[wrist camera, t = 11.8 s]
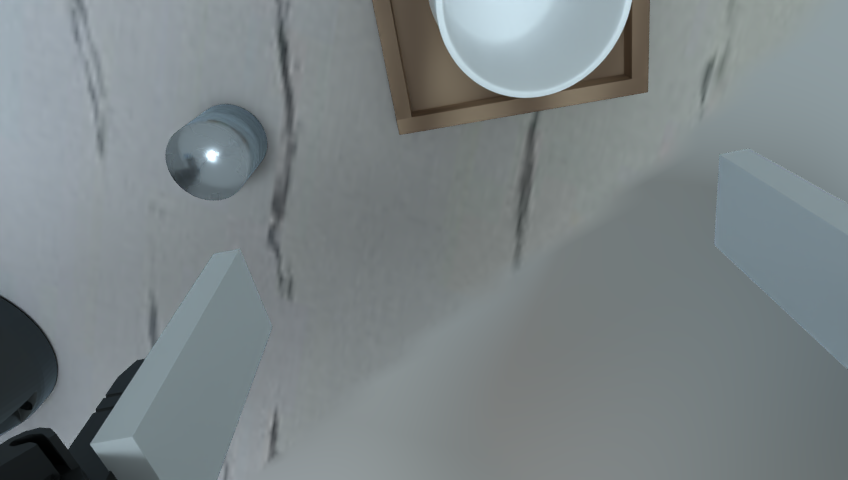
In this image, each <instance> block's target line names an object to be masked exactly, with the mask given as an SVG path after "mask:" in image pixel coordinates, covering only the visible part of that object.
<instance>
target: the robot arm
mask: <svg viewBox="0 0 848 480" xmlns="http://www.w3.org/2000/svg"><path fill="white" fill-rule="evenodd" d="M714 245H715V246H716V247H717V248H718V249H719V250H720V251H721V252H722V253H723V254H724V255H725V256H727V257H728V258H729V259H730V260H731V261H732V262H733V263H734V264H735V265H736V266H737V267H738V268H739V269H740V270H742V271H743V272H744V273H745V274H746V275H747V276H748V277H749V278H750V279H751V280H752V281H753V282H754V283H755V284H757V285H758V286H759V287H760V288H761V289H762V290H763V291H764V292H765V293H766V294H767V295H768V296H769V297H770V298H771V299H773V300H774V301H775V302H776V303H777V304H778V305H779V306H780V307H781V308H782V309H783V310H784V311H785V312H786V313H788V314H789V315H790V316H791V317H792V318H793V319H794V320H795V321H796V322H797V323H798V324H800V325H801V327H803V328H804V329H805V330H806V331H807V332H808V333H809V334H810V335H811V336H812V337H813V338H814V339H816V341H817V342H819V343H820V344H821V345H822V346H823V347H824V348H825V349H826V350H827V351H828V352H829V353H830V354H831V355H833V356H834V357H835V358H836V359H837V360H838V361H839V362H840V363H841V364H842V365H843V366H844V367H846V368H847V370H848V203H846V202H844V201H843V200H841V199H839V198H837V197H835V196H834V195H832V194H830V193H828V192H827V191H825V190H823V189H821V188H819V187H818V186H816V185H814V184H812V183H810V182H808V181H807V180H805V179H803V178H801V177H800V176H798V175H796V174H794V173H792V172H790V171H789V170H787V169H785V168H783V167H782V166H780V165H778V164H776V163H774V162H773V161H771V160H769V159H767V158H765V157H764V156H762V155H760V154H758V153H756V152H755V151H753V150H751V149H744V150H739V151H734V152H729V153H724V154H720V156H719V172H718V189H717V206H716V223H715V240H714ZM271 330H272V325H271V322H270V320H269V317H268V315H267V312H266V310H265V308H264V305H263V303H262V300H261V298H260V296H259V293H258V291H257V288H256V286H255V284H254V281H253V279H252V276H251V274H250V272H249V269H248V267H247V264H246V262H245V260H244V257H243V255H242V252H241V250H240V249H236V250H230V251H225V252H220V253H215V254H213V256H212V257H211V259H210V260H209V262H208V263H207V265H206V266H205V268H204V269H203V271H202V273H201V274H200V276H199V277H198V279H197V280H196V282H195V283H194V285H193V286H192V288H191V289H190V291H189V293H188V294H187V296H186V297H185V299H184V300H183V302H182V303H181V305H180V306H179V308H178V309H177V311H176V313H175V314H174V316H173V317H172V319H171V320H170V322H169V323H168V325H167V326H166V328H165V329H164V331H163V333H162V334H161V336H160V337H159V339H158V340H157V342H156V343H155V345H154V346H153V348H152V349H151V351H150V352H149V354H148V356H147V357H146V359H142V360H137V361H136V362H134V363H133V364H132V365H131V366H130V367H129V368H128V369H127V370H125V371H124V372H123V373H122V374H121V375H120V376H119V377H118V378H117V379H116V381H115V382H114V384H113V385H112V387H111V388H110V389H109V391H108V392H107V394H106V398H103V400H102V401H101V403H100V404H99V405H98V407H97V408H96V413H93V414H92V416H91V417H90V419H89V420H88V421H87V423H86V424H85V426H84V427H83V429H82V430H81V432H80V433H79V435H78V436H77V437H76V439H75V440H74V442H73V443H72V445H71V446H70V448H69V449H67V448H66V447H65V445H64V444H63V443H62V441H61V440H60V439H59V437H58V436H57V434H56V433H55V432H54V431H53V430H52V429H51V428H36V429H33V430H29V431H25V432H23V433H21V434H19V435H16V436H14V437H12V438H10V439H8V440H7V441H5V442H4V443H2V444H1V445H0V480H217V479H218V476H219V473H220V470H221V468H222V465H223V462H224V459H225V457H226V454H227V451H228V448H229V446H230V443H231V440H232V437H233V434H234V432H235V429H236V426H237V423H238V421H239V418H240V415H241V412H242V410H243V407H244V404H245V401H246V399H247V396H248V393H249V390H250V388H251V385H252V382H253V379H254V377H255V374H256V371H257V368H258V366H259V363H260V360H261V357H262V355H263V352H264V349H265V346H266V344H267V341H268V338H269V335H270V332H271ZM56 379H57V364H56V359H55V356H54V353H53V350H52V348H51V346H50V344H49V342H48V341H47V339H46V338H45V336H44V335H43V333H42V332H41V331H40V329H39V328H38V327H37V326H36V325H35V324H34V323H33V322H32V321H31V320H30V319H29V318H28V317H27V316H26V315H25V314H24V313H22V312H21V311H20V310H19V309H17V308H16V307H15V306H13V305H12V304H10V303H9V302H7V301H6V300H4V299H2V298H0V436H1V435H3V434H4V433H6V432H8V431H9V430H11V429H12V428H14V427H16V426H17V425H19V424H20V423H22V422H24V421H25V420H26V419H28V418H29V417H30V416H31V415H32V414H33V413H34V412H35V411H36V410H37V409H38V408H39V406H40V405H41V404H42V403H43V402H44V400H45V399H46V398H47V397H48V396H49V395H50V393H51V392H52V390H53V388H54V386H55V383H56Z"/></svg>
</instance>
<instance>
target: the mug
mask: <svg viewBox="0 0 848 480" xmlns="http://www.w3.org/2000/svg"><path fill="white" fill-rule="evenodd" d="M631 3H632V0H429V4H430V8H431V11H432V14H433V16H434V19H435V21H436V23H437V25H438V26H439V30H440V33H441V36H442V39H443V41H444V44H445V46H446V48H447V50H448V52H449V54H450V55H451V57H452V58H453V60H454V61H455V63H456V64H457V65H458V66H459V68H460V69H461V70H462V71H463V72H464V73H465V74H466V75H467V76H468V77H470V78H471V79H472V80H473V81H475V82H476V83H478V84H479V85H481V86H482V87H484V88H486V89H488V90H490V91H493V92H495V93H498V94H501V95H505V96H510V97H518V98H533V97H541V96H546V95H550V94H553V93H556V92H559V91H562V90H564V89H566V88H568V87H570V86H572V85H574V84H576V83H577V82H579V81H580V80H582V79H583V78H585V77H586V76H587V75H588V74H590V73H591V72H592V71H593V70H594V69H595V68H596V67H597V66H598V65H599V64H600V63H601V62H602V61H603V60H604V59H605V58H606V56H607V55H608V54H609V53H610V51H611V50H612V48H613V47H614V45H615V44H616V42H617V40H618V38H619V37H620V35H621V33H622V31H623V28H624V26H625V23H626V21H627V18H628V15H629V11H630V7H631Z"/></svg>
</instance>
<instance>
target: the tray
mask: <svg viewBox="0 0 848 480" xmlns="http://www.w3.org/2000/svg"><path fill="white" fill-rule="evenodd" d="M372 2H373V7H374V12H375V16H376V21H377V26H378V31H379V36H380V41H381V46H382V51H383V56H384V61H385V66H386V71H387V76H388V81H389V86H390V90H391V95H392V100H393V105H394V110H395V115H396V120H397V125H398V130H399V135H403V134H408V133H414V132H420V131H426V130H431V129H437V128H443V127H449V126H455V125H460V124H466V123H472V122H478V121H484V120H489V119H495V118H501V117H507V116H513V115H518V114H524V113H530V112H536V111H542V110H547V109H553V108H559V107H565V106H570V105H576V104H582V103H588V102H594V101H599V100H605V99H611V98H617V97H623V96H628V95H634V94H640V93H646V92H648V64H649V13H650V0H632V3H631V7H630V11H629V15H628V18H627V21H626V23H625V26H624V28H623V31H622V33H621V35H620V37H619V38H618V40H617V42H616V44H615V45H614V47H613V48H612V50H611V51H610V53H609V54H608V55H607V56H606V58H605V59H604V60H603V61H602V62H601V63H600V64H599V65H598V66H597V67H596V68H595V69H594V70H593V71H592V72H591V73H590V74H588V75H587V76H586V77H585V78H583V79H582V80H580V81H579V82H577V83H576V84H574V85H572V86H570V87H568V88H566V89H564V90H562V91H559V92H556V93H553V94H550V95H546V96H541V97H533V98H518V97H510V96H505V95H501V94H498V93H495V92H493V91H490V90H488V89H486V88H484V87H482V86H481V85H479V84H478V83H476V82H475V81H473V80H472V79H471V78H470V77H468V76H467V75H466V74H465V73H464V72H463V71H462V70H461V69H460V68H459V66H458V65H457V64H456V63H455V61H454V60H453V58H452V57H451V55H450V54H449V52H448V50H447V48H446V46H445V44H444V41H443V39H442V36H441V33H440V30H439V26H438V25H437V23H436V21H435V19H434V16H433V14H432V11H431V8H430V4H429V0H372Z"/></svg>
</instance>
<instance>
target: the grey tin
mask: <svg viewBox="0 0 848 480" xmlns="http://www.w3.org/2000/svg"><path fill="white" fill-rule="evenodd" d="M266 151H267V137H266V133H265V131H264V128H263V126H262V125H261V123H260V122H259V120H258V119H257V118H256V117H255V116H254V115H253V114H252V113H250V112H249V111H247V110H245V109H244V108H241V107H239V106H236V105H231V104H220V105H216V106H213V107H211V108H209V109H207V110H206V111H204V112H203V113H202V114H200V115H199V116H198V117H196V118H195V119H193V120H192V121H191V122H189V123H188V124H187V125H185V126H184V127H182V128H181V129H180V130H178V131H177V132H176V133H175V134H174V135H173V136H172V137H171V139H170V140H169V142H168V145H167V148H166V163H167V167H168V170H169V172H170V174H171V176H172V177H173V179H174V180H175V181H176V183H177V184H178V185H179V186H180V187H181V188H183V189H184V190H185V191H186V192H188V193H190V194H191V195H193V196H195V197H198V198H201V199H205V200H222V199H226V198H229V197H231V196H233V195H234V194H235V193H237V192H238V191H239V190H240V189H241V187H242V186H243V185H244V184H245V182H246V181H247V180H248V178H249V177H250V176H251V175H252V173H253V172H254V171H255V169H256V168H257V167H258V165H259V164H260V163H261V162H262V160H263V159H264V157H265V154H266Z"/></svg>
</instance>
